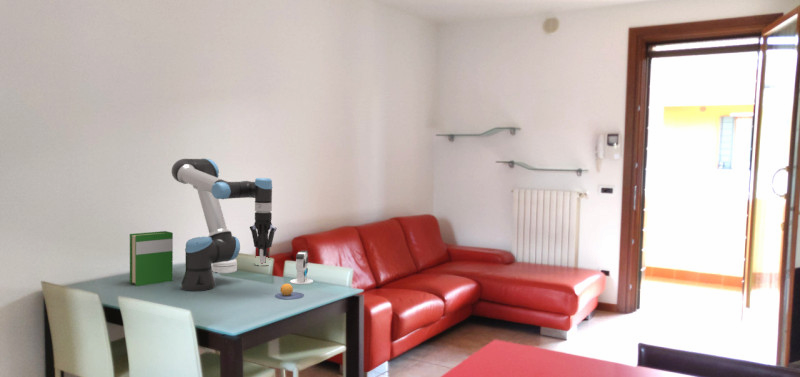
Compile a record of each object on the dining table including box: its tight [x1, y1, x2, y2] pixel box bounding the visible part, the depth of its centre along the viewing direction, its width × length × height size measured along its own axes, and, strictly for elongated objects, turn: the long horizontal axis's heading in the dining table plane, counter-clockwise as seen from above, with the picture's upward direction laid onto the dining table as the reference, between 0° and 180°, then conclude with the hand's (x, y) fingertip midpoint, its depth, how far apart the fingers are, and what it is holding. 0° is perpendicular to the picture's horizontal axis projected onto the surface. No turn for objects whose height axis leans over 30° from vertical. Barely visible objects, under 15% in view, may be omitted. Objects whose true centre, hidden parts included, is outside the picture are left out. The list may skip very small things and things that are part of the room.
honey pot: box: [212, 257, 238, 274], centre depth 313 cm, size 13×13×18 cm
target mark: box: [274, 291, 305, 300], centre depth 262 cm, size 13×13×1 cm
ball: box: [280, 283, 294, 296], centre depth 262 cm, size 6×6×6 cm
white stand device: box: [289, 250, 314, 285], centre depth 291 cm, size 12×11×15 cm
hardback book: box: [129, 230, 174, 287], centre depth 281 cm, size 18×7×24 cm, turn 137°
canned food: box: [255, 247, 271, 258], centre depth 331 cm, size 8×8×11 cm
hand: (262, 262), depth 266 cm, fingers closed
